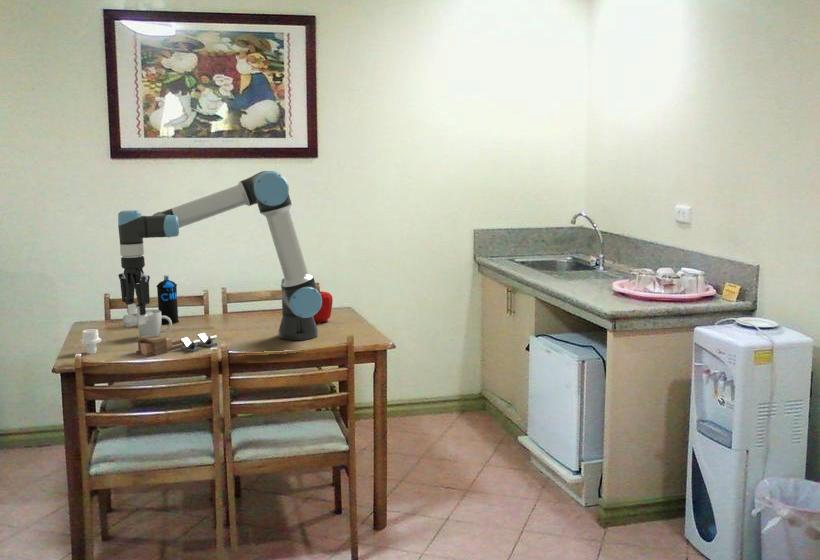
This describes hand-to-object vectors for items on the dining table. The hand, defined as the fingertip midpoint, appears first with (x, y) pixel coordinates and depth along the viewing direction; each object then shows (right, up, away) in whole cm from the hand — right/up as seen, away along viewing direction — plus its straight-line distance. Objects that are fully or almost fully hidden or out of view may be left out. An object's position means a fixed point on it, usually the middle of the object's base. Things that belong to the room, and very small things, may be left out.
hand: (137, 323), depth 269 cm
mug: (-4, -7, +32) cm, 33 cm away
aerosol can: (-7, -3, +58) cm, 59 cm away
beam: (+6, -10, +14) cm, 18 cm away
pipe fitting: (-19, -11, +8) cm, 24 cm away
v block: (+17, -10, +15) cm, 25 cm away
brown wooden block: (+4, -11, +10) cm, 15 cm away
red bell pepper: (+56, -3, +59) cm, 82 cm away
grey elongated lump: (0, 0, +1) cm, 1 cm away
